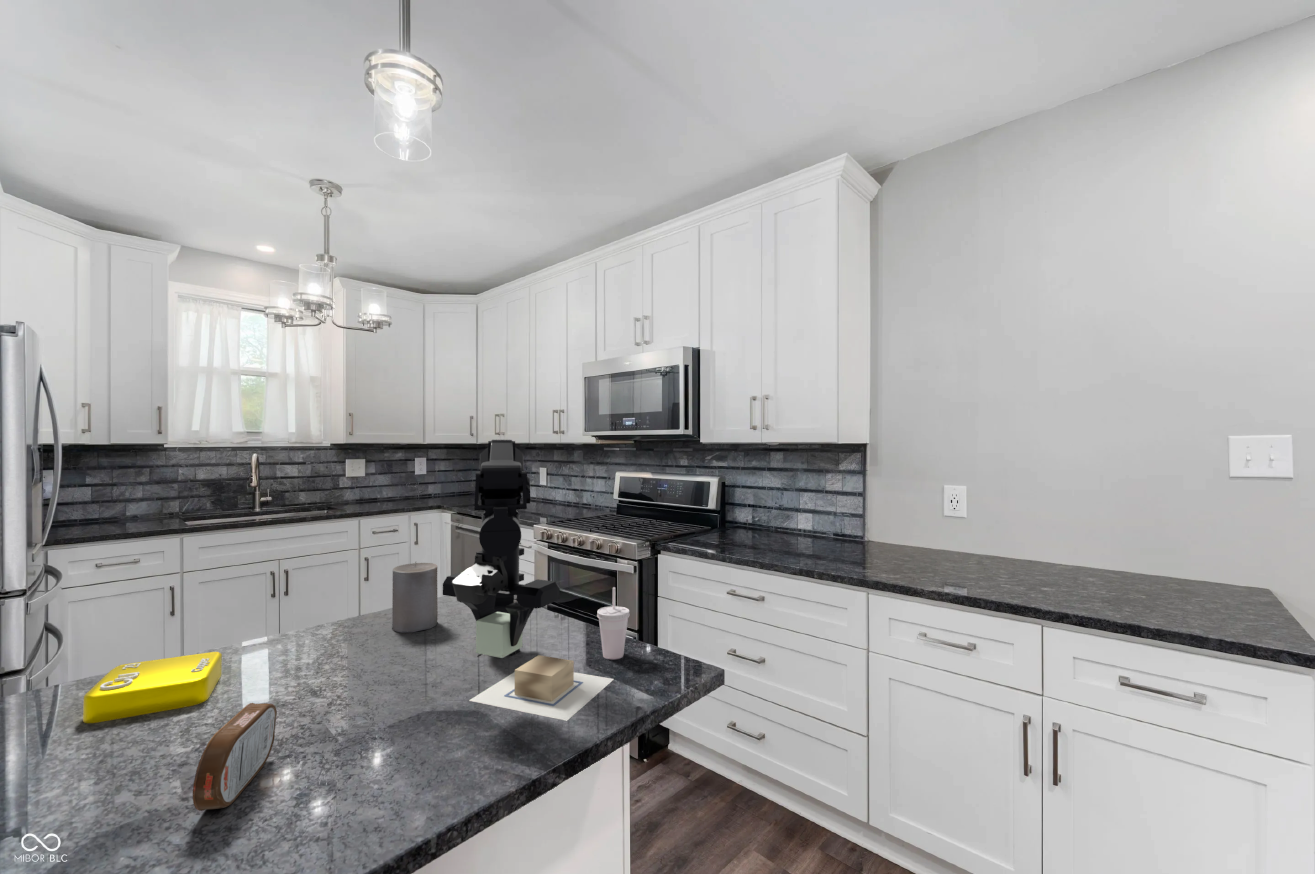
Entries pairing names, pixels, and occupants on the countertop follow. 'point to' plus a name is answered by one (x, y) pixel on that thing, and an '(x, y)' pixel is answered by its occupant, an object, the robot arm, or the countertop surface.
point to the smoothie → (613, 629)
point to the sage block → (495, 635)
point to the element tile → (152, 687)
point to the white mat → (558, 708)
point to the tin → (234, 756)
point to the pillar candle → (414, 597)
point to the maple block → (544, 677)
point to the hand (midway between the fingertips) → (499, 642)
